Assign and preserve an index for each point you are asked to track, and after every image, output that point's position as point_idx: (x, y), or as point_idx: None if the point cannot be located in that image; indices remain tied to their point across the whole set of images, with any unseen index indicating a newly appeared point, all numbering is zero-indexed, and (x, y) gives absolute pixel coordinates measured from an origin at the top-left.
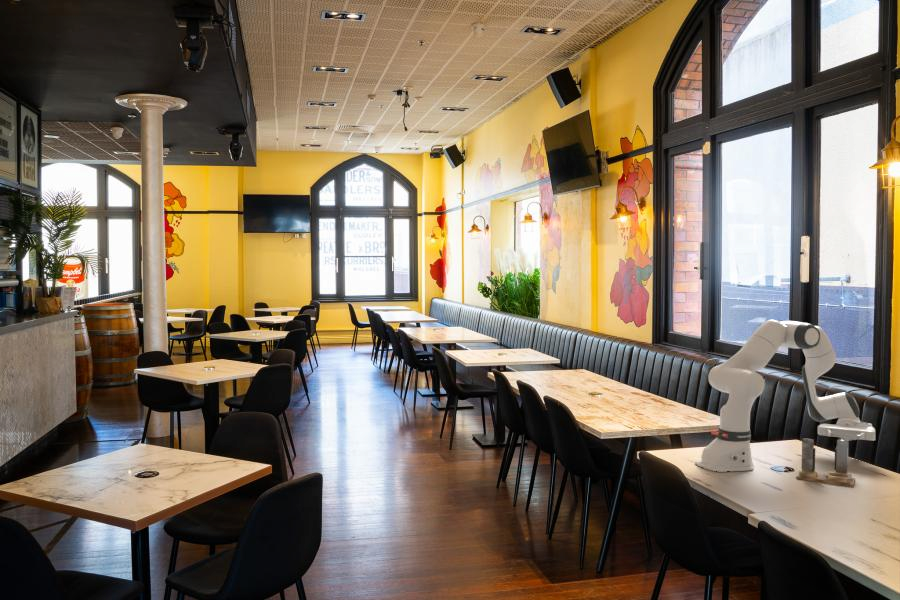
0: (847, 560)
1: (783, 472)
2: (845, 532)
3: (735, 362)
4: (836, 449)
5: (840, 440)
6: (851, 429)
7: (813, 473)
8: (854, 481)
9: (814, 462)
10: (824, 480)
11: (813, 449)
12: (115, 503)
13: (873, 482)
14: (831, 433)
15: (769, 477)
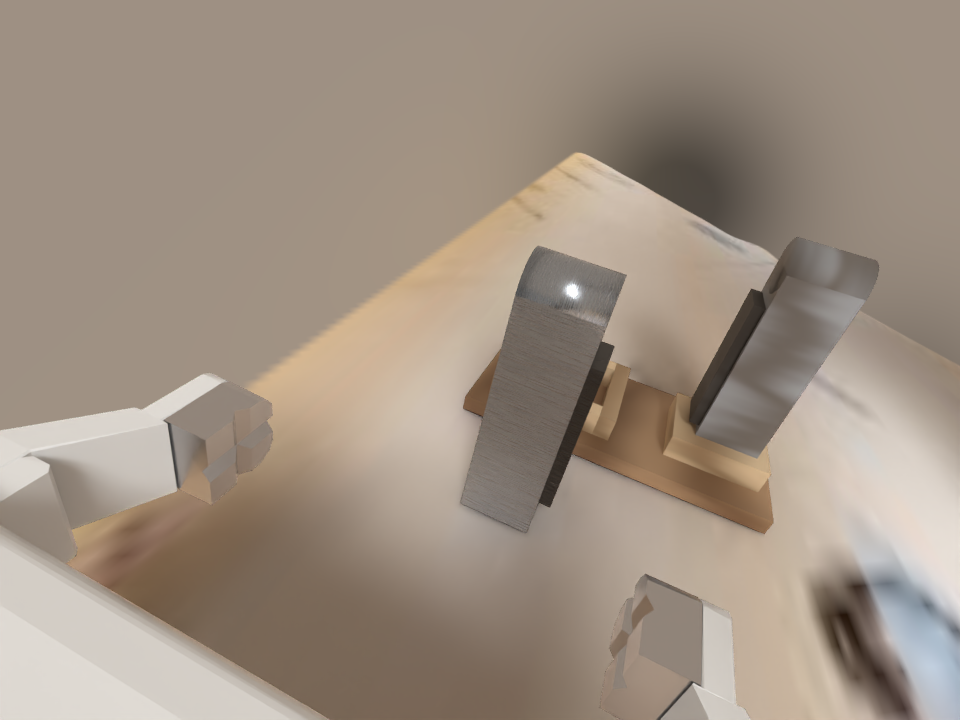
0: (616, 174)
1: (855, 555)
2: (606, 203)
3: None
4: (601, 345)
5: (598, 266)
6: (105, 637)
7: (688, 398)
8: (484, 373)
9: (712, 362)
10: (628, 379)
11: (759, 292)
12: None
13: (361, 397)
14: (676, 592)
15: (876, 468)
